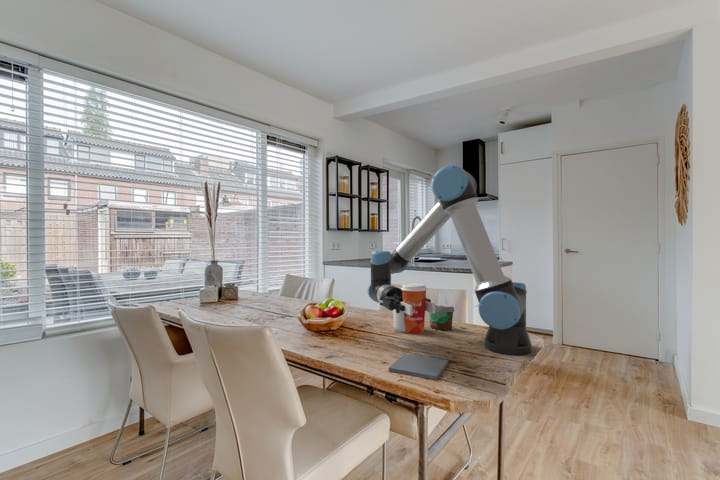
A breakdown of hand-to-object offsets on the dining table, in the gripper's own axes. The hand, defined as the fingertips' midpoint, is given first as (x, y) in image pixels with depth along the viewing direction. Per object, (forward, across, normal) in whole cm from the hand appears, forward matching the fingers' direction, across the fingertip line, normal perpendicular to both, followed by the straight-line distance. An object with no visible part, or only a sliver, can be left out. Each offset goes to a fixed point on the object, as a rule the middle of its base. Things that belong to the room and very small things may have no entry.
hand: (422, 309), depth 101 cm
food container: (-40, -28, -18) cm, 52 cm away
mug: (-44, -15, -18) cm, 50 cm away
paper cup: (-5, 0, -8) cm, 9 cm away
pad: (-3, -1, -18) cm, 18 cm away
